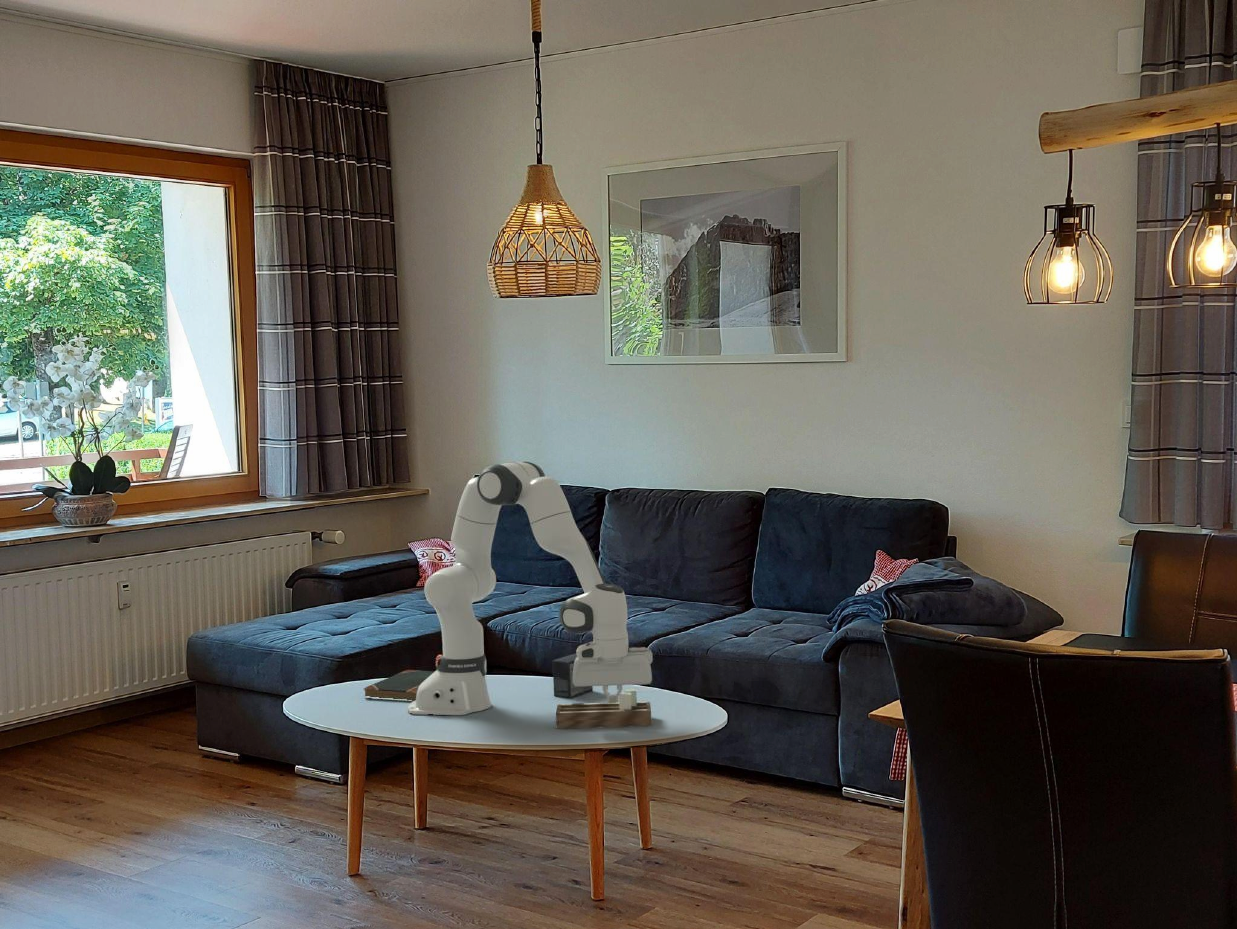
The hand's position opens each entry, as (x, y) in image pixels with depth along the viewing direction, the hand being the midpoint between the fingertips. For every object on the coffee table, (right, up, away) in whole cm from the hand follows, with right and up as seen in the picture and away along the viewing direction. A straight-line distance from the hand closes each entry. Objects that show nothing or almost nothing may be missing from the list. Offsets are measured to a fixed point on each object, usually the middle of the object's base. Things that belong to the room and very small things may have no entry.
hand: (612, 702), depth 321 cm
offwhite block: (+3, -4, 0) cm, 5 cm away
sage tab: (+5, -3, +4) cm, 7 cm away
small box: (-11, -5, +35) cm, 38 cm away
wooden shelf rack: (-2, -6, +2) cm, 7 cm away
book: (-58, -6, +45) cm, 74 cm away
